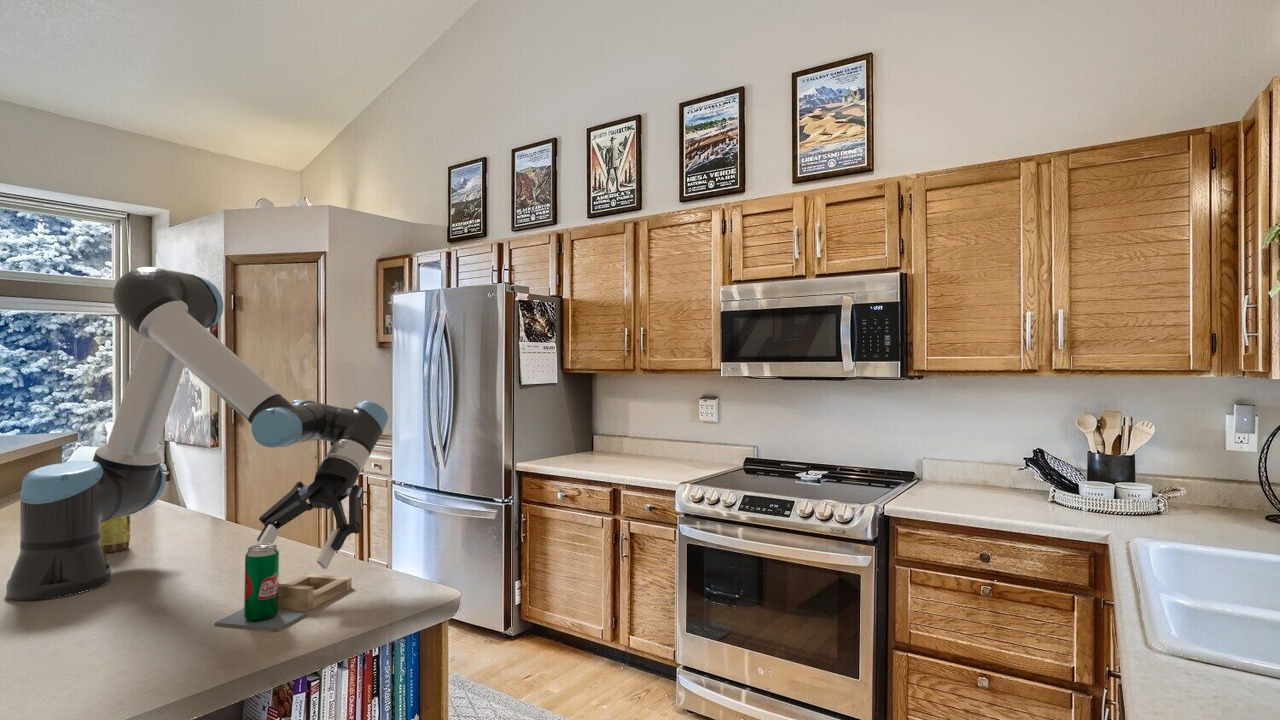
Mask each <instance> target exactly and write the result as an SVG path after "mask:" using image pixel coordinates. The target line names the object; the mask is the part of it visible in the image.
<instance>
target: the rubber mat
mask: <svg viewBox="0 0 1280 720" xmlns="http://www.w3.org/2000/svg"><path fill="white" fill-rule="evenodd" d="M307 616H308V612H304V611H292V610H281V609H278V612H277V614H276V615H275V616H274V617H273V618H271V619H268V620H265V621H259V622H251V621H248V620H247V619H245V617H244V608H242V609H239V610H238V611H236V612H233V613H231V614H229V615H227V616H225V617H222V618H221V619H219V620H217V621H215V622H214V626H217V627H228V628H229V627H230V628H240V629H248V630H249V629H250V630H260V631H268V632H269V631H273V632H280V631H281V630H284V629H286V628H288V627H290V626H291V625H293V624H295V623H296V622H298V621H300V620H301V619H304V618H305V617H307Z"/></svg>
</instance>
